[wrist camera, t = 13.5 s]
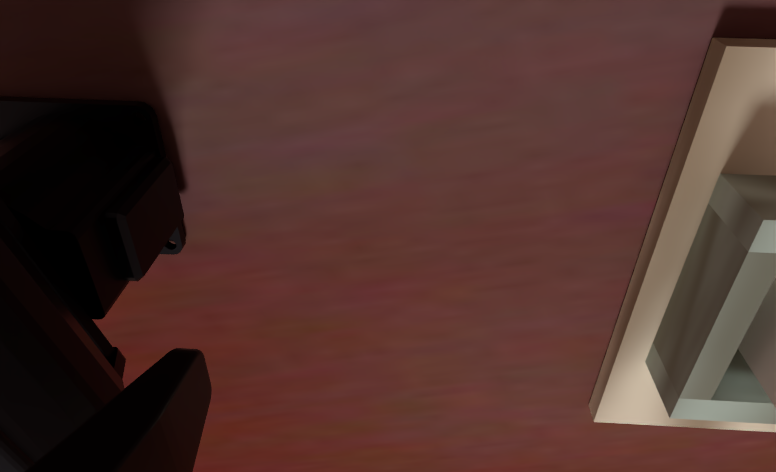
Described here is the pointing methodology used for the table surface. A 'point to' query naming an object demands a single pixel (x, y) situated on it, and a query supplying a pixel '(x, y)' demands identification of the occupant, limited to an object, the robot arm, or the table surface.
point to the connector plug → (763, 344)
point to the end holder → (703, 260)
